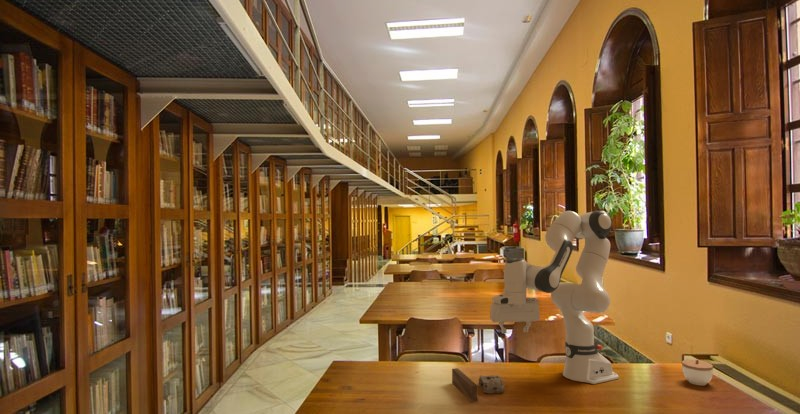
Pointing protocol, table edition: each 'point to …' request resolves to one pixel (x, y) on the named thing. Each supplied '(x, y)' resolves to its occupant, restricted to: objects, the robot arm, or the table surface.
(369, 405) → the table surface
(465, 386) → the board
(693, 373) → the lidded jar
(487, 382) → the stone
